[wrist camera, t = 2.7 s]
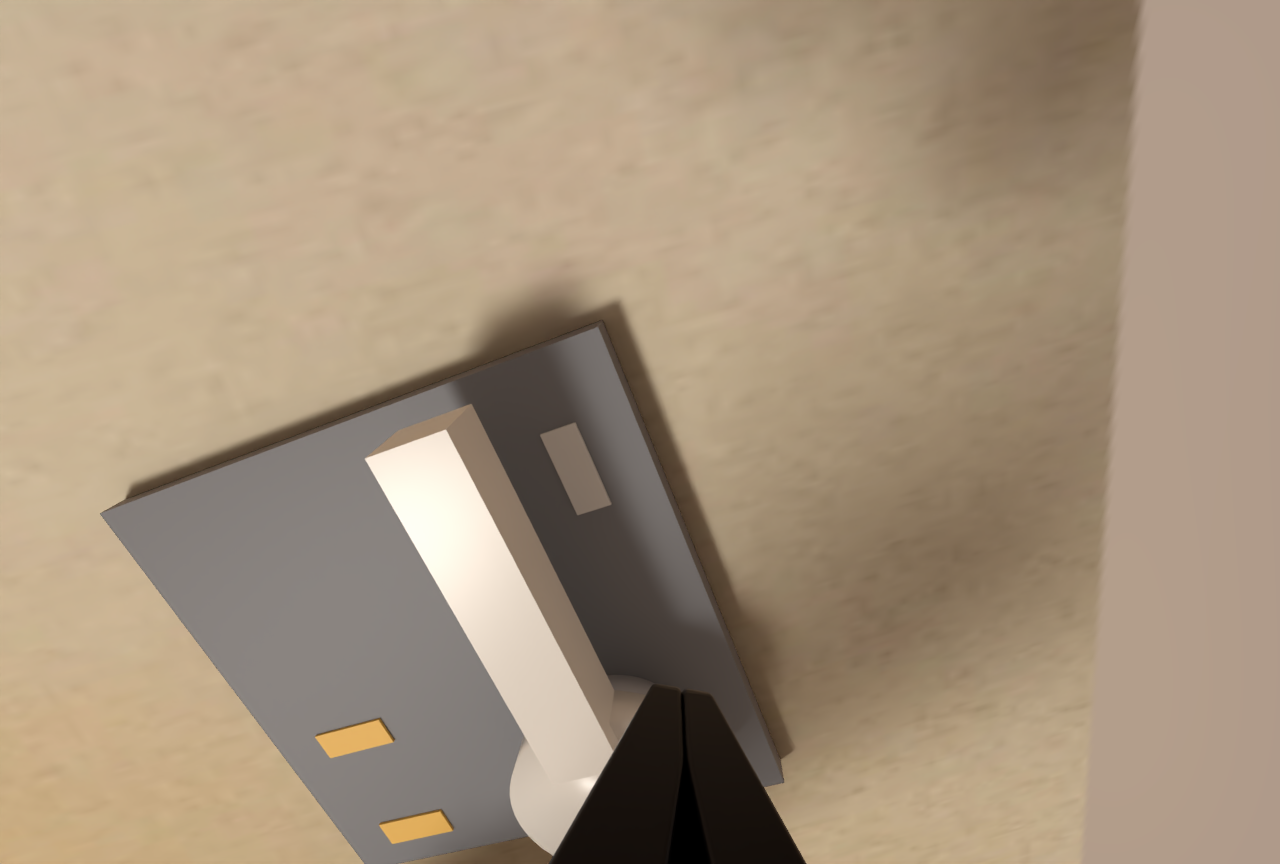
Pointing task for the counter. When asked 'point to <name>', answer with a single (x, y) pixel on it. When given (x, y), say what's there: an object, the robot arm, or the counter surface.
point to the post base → (434, 595)
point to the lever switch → (508, 612)
